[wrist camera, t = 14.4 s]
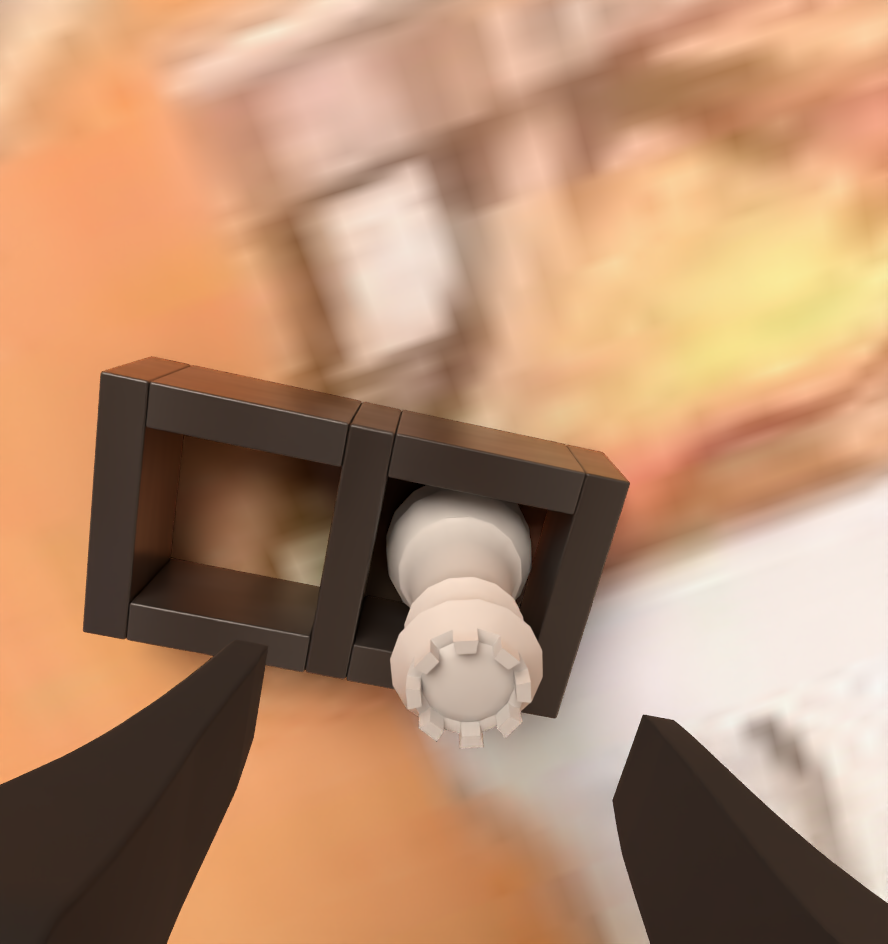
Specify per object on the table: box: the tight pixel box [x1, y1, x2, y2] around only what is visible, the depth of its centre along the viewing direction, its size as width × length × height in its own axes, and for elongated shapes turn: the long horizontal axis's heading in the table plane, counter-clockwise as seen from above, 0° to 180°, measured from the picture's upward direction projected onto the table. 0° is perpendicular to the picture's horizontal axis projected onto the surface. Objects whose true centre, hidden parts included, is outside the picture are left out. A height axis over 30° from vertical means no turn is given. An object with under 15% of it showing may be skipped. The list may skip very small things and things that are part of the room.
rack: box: [83, 357, 630, 718], centre depth 19 cm, size 14×7×3 cm, turn 78°
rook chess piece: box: [386, 485, 543, 748], centre depth 17 cm, size 4×4×8 cm
